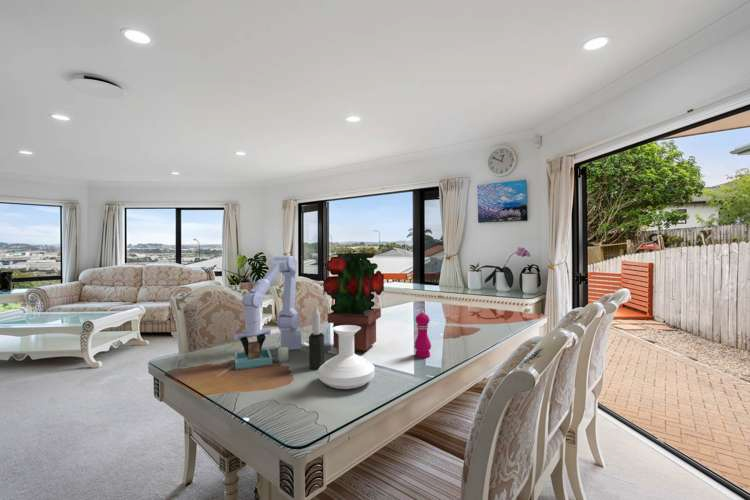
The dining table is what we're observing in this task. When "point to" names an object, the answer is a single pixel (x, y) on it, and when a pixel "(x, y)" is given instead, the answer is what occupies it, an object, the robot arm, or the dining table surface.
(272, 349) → the slate block
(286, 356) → the sage cylinder
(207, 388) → the dining table surface
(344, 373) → the white vase
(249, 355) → the walnut block
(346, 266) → the potted plant
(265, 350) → the tray
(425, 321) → the pepper mill
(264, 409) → the dining table surface
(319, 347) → the candle
